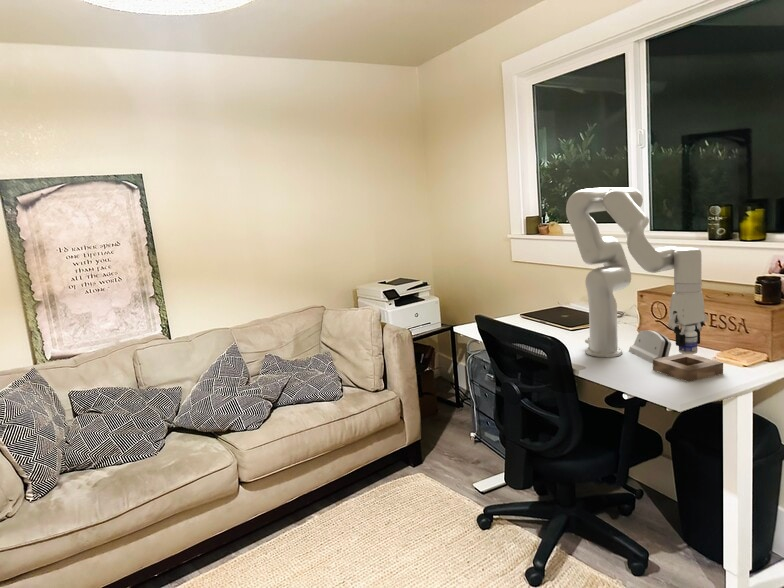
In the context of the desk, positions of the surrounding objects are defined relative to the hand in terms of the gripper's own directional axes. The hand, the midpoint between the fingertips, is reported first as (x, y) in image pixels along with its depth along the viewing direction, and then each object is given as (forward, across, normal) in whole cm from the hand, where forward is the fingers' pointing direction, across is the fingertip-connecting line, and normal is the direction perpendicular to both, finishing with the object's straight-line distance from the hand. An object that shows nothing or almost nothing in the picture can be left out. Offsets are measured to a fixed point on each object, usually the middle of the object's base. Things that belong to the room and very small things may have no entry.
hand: (687, 344), depth 177 cm
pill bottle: (+3, 0, 0) cm, 3 cm away
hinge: (+9, -4, -19) cm, 22 cm away
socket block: (+9, 0, 0) cm, 9 cm away
